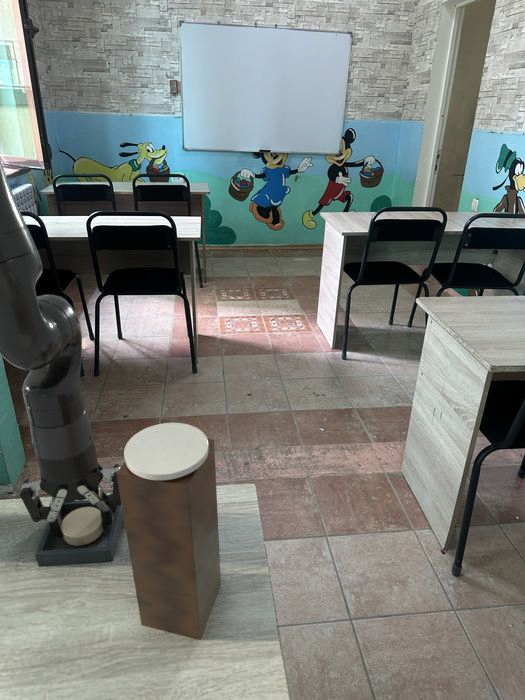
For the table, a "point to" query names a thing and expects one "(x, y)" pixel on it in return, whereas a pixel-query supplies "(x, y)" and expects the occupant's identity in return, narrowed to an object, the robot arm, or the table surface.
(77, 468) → the robot arm
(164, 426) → the bottom plate
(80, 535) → the top plate
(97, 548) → the bin
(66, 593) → the table surface
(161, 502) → the riser box
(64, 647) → the table surface
